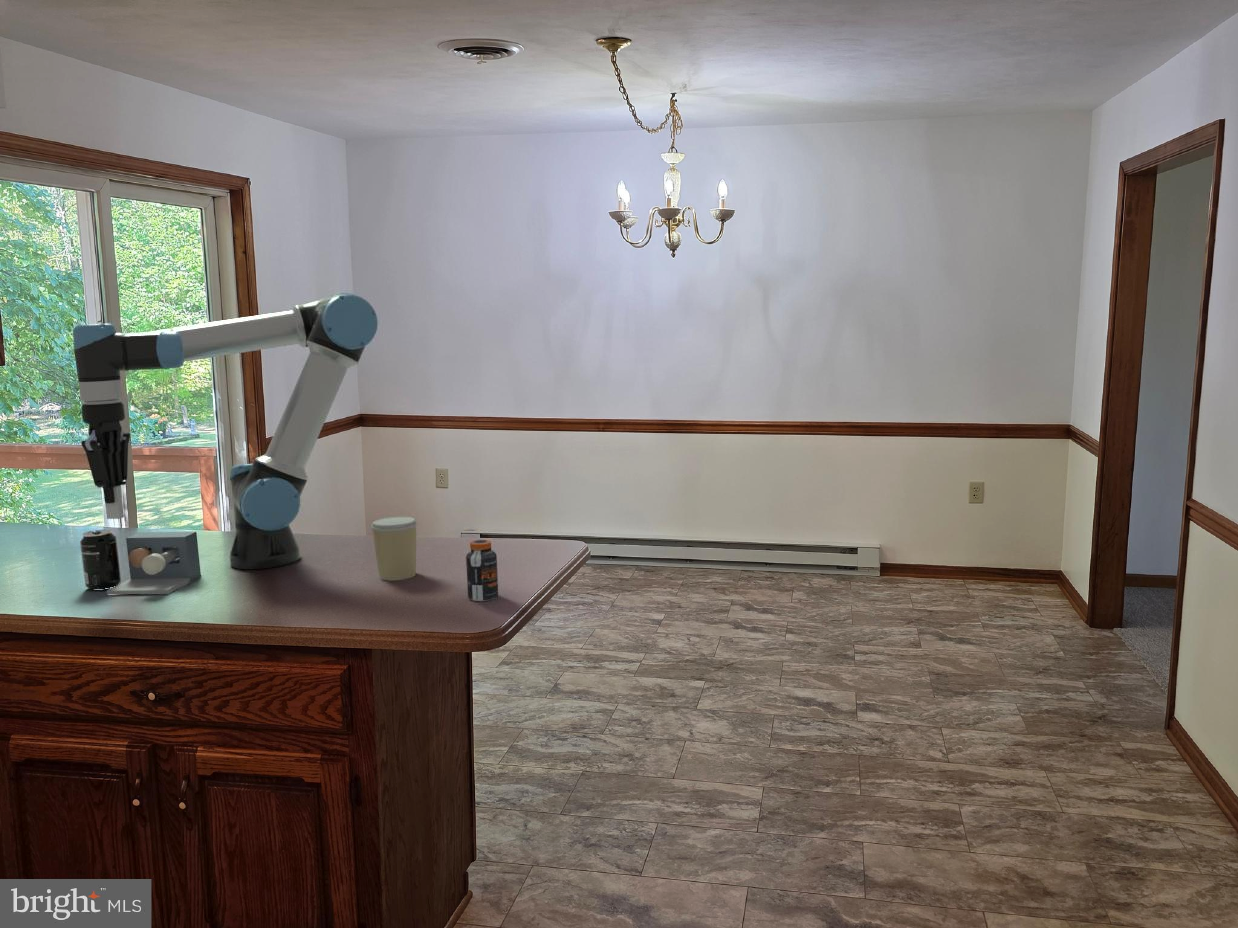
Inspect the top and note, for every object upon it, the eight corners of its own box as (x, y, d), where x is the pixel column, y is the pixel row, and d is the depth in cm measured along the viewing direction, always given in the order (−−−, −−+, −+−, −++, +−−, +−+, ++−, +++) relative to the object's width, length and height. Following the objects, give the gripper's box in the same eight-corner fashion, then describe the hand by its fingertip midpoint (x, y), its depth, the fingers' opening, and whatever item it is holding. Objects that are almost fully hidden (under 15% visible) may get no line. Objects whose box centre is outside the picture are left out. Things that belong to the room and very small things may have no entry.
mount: (200, 576, 215) (196, 531, 214) (168, 594, 201) (162, 547, 200) (143, 576, 216) (138, 532, 214) (107, 595, 202) (101, 548, 201)
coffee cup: (428, 571, 212) (425, 517, 211) (401, 583, 204) (398, 527, 202) (393, 568, 216) (389, 515, 215) (366, 579, 208) (361, 524, 206)
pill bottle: (485, 603, 188) (482, 546, 186) (461, 599, 191) (458, 542, 189) (504, 595, 193) (501, 539, 191) (481, 591, 196) (478, 536, 194)
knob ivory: (192, 558, 215) (190, 540, 214) (161, 574, 202) (159, 555, 201) (174, 558, 215) (172, 540, 214) (142, 574, 202) (140, 555, 201)
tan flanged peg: (179, 552, 221) (177, 535, 220) (148, 567, 208) (146, 549, 207) (161, 552, 221) (160, 535, 220) (130, 567, 208) (127, 549, 208)
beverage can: (115, 581, 213) (109, 527, 211) (126, 586, 208) (120, 531, 207) (81, 588, 209) (74, 533, 207) (91, 593, 204) (84, 537, 202)
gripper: (103, 399, 202) (116, 511, 206) (63, 405, 189) (78, 525, 193) (138, 398, 201) (150, 511, 205) (100, 404, 189) (114, 524, 192)
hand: (115, 517), depth 199 cm, fingers closed
